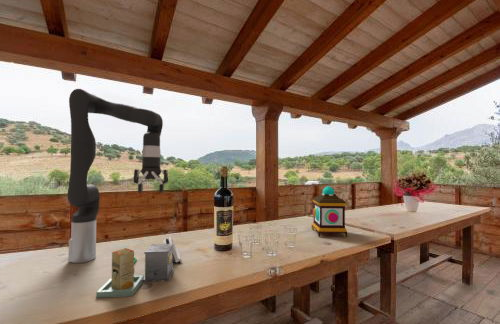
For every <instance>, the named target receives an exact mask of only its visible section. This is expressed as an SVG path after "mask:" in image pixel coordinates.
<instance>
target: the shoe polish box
mask: <svg viewBox="0 0 500 324" xmlns="http://www.w3.org/2000/svg"><path fill="white" fill-rule="evenodd" d="M134 258H135V250H133V249H130V248H127V247H126V248H122V249H118V250H115V251H111V278H112V284H111V288H113V289H115V290H123V289H127V288H129V287H131V286H133V285H134V276H135V264H134V261H135V260H134Z"/></svg>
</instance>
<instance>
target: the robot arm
mask: <svg viewBox="0 0 500 324" xmlns="http://www.w3.org/2000/svg"><path fill="white" fill-rule="evenodd" d="M68 103H69V104H68V105H69V106H68V107H69V114H70V133H71V134H70V169H69V172H70V173H69V179H68V180H69V181H68V187H67V200H68V203H69V204H70V205H71V206H73V207H74V208H78V209H77V211H75V212H74V213H73V214H72V216H71V223H70V224H71V227H70V230H71V235H70V238H69V240H68V256H67V257H68V259H67V261H68V263H73V264H82V263H86V262H89V261H93V260H94V259H96V257H97V255H96V254H97V216H98V214H99V210H100V198H101V197H100V191H99V189H98V187H97V186H96V185H94V184H90V183H89V184H88V174H89V171H90V169H91V167H92V165H93V163H94V161H95V159H96V153H97V149H96V147H97V144H96V137H95V136H94V132H93V131H92V128H91V126H90V123H89V114H98V115H105V116H109V117H113V118H116V119H119V120H122V121H126V122H130V123H133V124H135V123H136V124H140V125H142V126H146V127H147V130H146V132H145V133H144V134H143V137H142V138H143V140H142V151H141V155H142V156H141V162H142V163H141V164H142V165H141V169H139V168H137V169H134V170H133V171H134V173H133V181H132V182H133V183H134V184H137V192H139V194H142V193H143V191H144V190H143V189H144V188H143V187H144V186H143V185H144V182H145V181H146V180H156V182H158V183H159V187H158V188H159V190H158V192H159V194H162V193H163V192H164V189H165V187H164V186H165V185H166V184H168V183H169V172H168V169H161V156H162V154H161V153H162V152H161V135H162V131H163V130H162V129H163V126H164V125H163V124H164V123H163V122H164V121H163V118H162V116H161V115H160V114H159V113H157V112H155V111H153V110H150V109H146V108H141V107H140V108H139V107H136V106H133V105H129V104H125V103H117V102H111V101H108V100H105V99H104V98H101V97H99V96H97V95H96V94H94V93H92V92H90V91H87V90H85V89H82V88H75V89H74V90H72V92H71V93H70V94H69V97H68ZM140 174H141V175H142V176H141V178H140V177H139V176H140ZM161 174H162V175H163V179H162V177H161V176H160V175H161Z"/></svg>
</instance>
